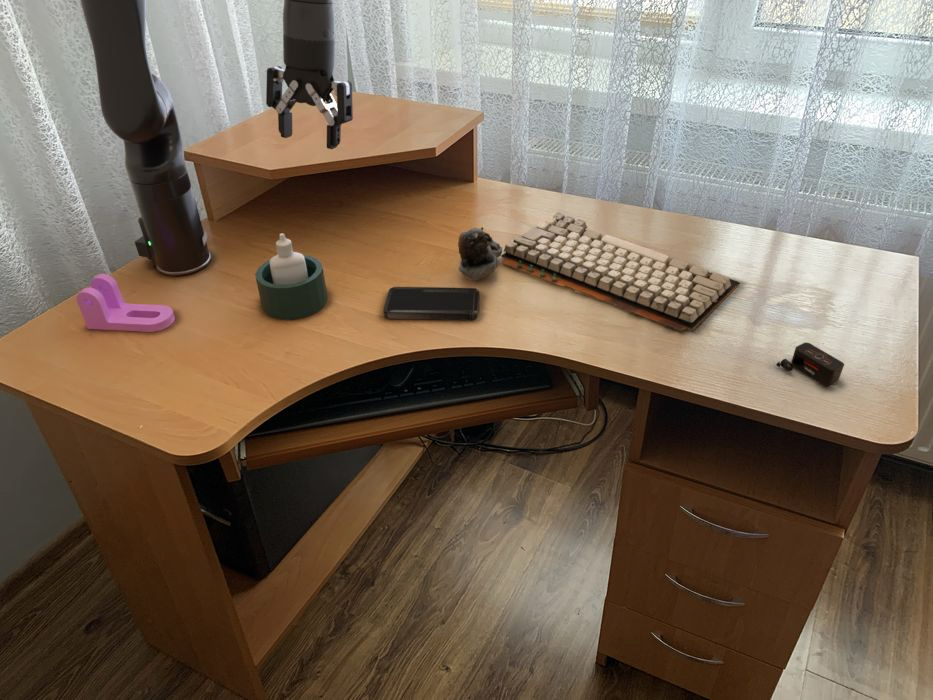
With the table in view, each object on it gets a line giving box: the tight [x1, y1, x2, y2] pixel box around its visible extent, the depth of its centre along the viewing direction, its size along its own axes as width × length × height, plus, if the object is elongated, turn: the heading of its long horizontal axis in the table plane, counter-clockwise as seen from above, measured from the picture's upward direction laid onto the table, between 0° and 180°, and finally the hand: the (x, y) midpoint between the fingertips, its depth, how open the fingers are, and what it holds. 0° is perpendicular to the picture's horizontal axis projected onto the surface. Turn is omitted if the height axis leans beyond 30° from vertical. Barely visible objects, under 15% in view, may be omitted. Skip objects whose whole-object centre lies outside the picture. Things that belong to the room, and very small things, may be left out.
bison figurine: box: [457, 226, 503, 281], centre depth 125 cm, size 12×7×10 cm, turn 173°
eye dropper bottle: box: [269, 232, 308, 285], centre depth 118 cm, size 4×6×12 cm
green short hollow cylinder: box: [254, 254, 328, 321], centre depth 120 cm, size 11×11×6 cm
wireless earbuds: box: [775, 342, 845, 388], centre depth 102 cm, size 5×7×3 cm, turn 32°
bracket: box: [75, 273, 176, 333], centre depth 116 cm, size 13×6×7 cm, turn 83°
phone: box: [383, 286, 480, 321], centre depth 119 cm, size 8×1×15 cm
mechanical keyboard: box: [500, 211, 741, 332], centre depth 126 cm, size 38×19×3 cm, turn 51°
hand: (309, 142), depth 117 cm, fingers open, 8 cm apart
